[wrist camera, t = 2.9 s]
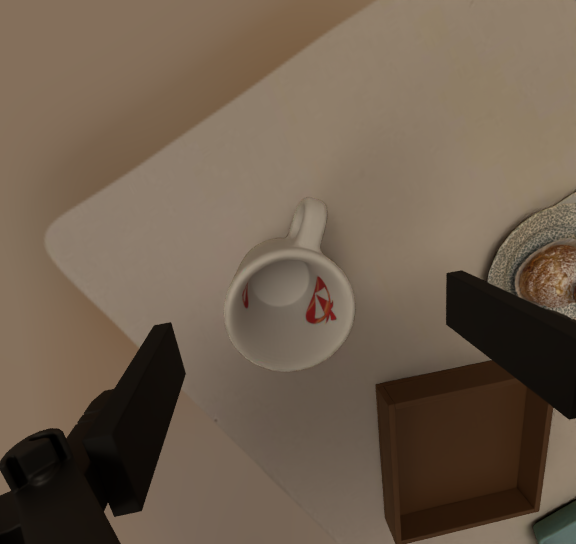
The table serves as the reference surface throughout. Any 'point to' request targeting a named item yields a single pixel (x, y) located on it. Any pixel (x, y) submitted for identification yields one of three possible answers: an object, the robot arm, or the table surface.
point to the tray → (460, 450)
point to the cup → (290, 298)
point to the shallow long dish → (558, 527)
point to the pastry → (541, 260)
